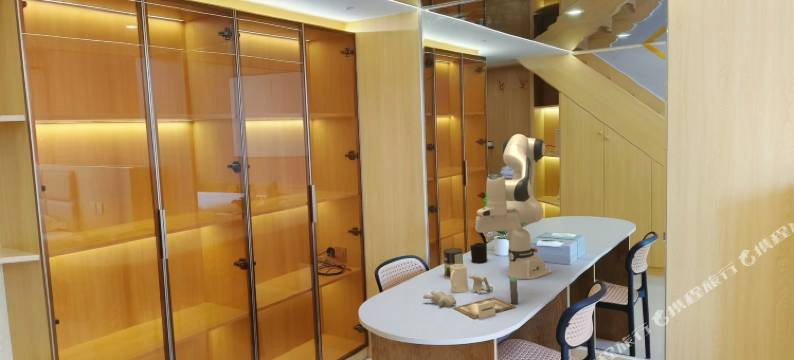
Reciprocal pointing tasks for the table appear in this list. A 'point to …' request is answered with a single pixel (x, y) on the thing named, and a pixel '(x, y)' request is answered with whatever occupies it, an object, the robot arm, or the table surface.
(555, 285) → the table surface
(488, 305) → the word card
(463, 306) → the picture frame
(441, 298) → the bunny figurine
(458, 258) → the coffee can
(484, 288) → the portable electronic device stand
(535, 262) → the robot arm
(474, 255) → the pen holder
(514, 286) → the marker
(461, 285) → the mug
